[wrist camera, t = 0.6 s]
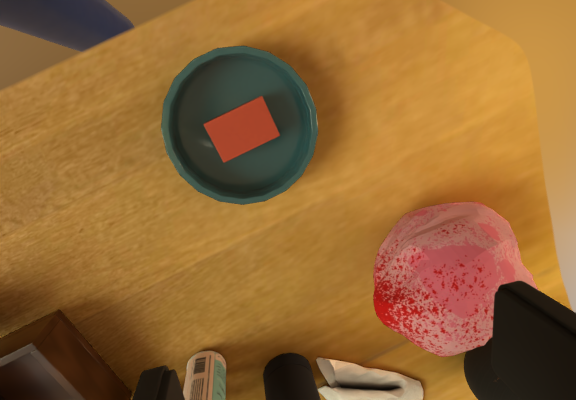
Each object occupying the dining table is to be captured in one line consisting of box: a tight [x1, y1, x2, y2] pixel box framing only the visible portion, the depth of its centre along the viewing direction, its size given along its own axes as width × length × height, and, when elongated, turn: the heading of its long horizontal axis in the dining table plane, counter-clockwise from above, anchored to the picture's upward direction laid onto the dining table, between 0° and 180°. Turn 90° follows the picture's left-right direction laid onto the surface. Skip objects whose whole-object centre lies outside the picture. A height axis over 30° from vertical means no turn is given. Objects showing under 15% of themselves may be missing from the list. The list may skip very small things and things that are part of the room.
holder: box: [0, 310, 132, 400], centre depth 35 cm, size 14×12×5 cm
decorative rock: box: [373, 202, 538, 357], centre depth 34 cm, size 19×14×15 cm
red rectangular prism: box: [203, 96, 280, 163], centre depth 32 cm, size 6×4×2 cm, turn 114°
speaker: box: [464, 337, 520, 400], centre depth 43 cm, size 10×10×10 cm
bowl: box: [161, 46, 318, 205], centre depth 32 cm, size 14×14×4 cm
